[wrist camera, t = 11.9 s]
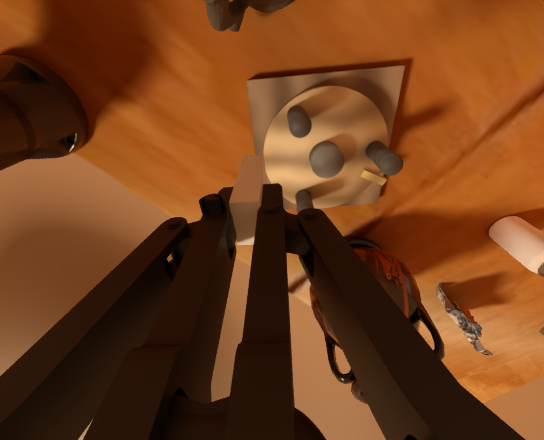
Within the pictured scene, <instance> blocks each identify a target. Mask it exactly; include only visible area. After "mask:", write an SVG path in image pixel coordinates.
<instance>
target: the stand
mask: <svg viewBox="0 0 544 440" xmlns="http://www.w3.org/2000/svg"><path fill="white" fill-rule="evenodd" d="M404 69H405V65H395V66H385V67H374V68H364V69H354V70H343V71H333V72H322V73H312V74H301V75H291V76H280V77H270V78H259V79H249V80H247V88H248V96H249V104H250V112H251V120H252V128H253V136H254V145H255V153H256V156H260V155H263V154H264V143H265V137H266V134H267V131H268V128H269V126H270V124H271V122H272V120H273V118H274V117H275V115H276V114H277V112H278V111H279V110H280V109H281V108H282V107H283V106H284V105H285V104H286V103H287V102H288V101H289V100H290V99H292V98H293V97H294V96H296V95H298V94H300V93H301V92H303V91H306V90H308V89H311V88H315V87H319V86H327V85H334V86H342V87H346V88H349V89H352V90H354V91H357V92H359V93H361V94H362V95H364V96H366V97H367V98H368V99H369V100H371V101H372V102H373V103H374V104H375V105H376V107H377V108H378V109H379V111H380V112H381V114H382V116H383V118H384V121H385V123H386V127H387V132H388V148H389V145H390V140H391V135H392V129H393V124H394V119H395V114H396V109H397V104H398V99H399V94H400V89H401V84H402V79H403V74H404ZM378 175H380V176H383V175H384V173H383V172H382V171H381V170H380V172H379V173H378ZM266 178H267V184H271V182H270V180H269V178H268V176H267V173H266ZM380 190H381V185H380V184H378V183H375V182H372V183H371V184H370V185H369V186H368V187H367V188H366V189H365V190H364V191H363V192H362V193H361V194H359V195H358V196H356V197H355V198H353V199H352V200H350V201H348V202H346V203H343V204H341V205H337V206H345V205H361V204H376V203H378V201H379V196H380ZM283 206H284V209H297V205H296V204H294V203H292V202H290V201H289V200H287V199H285V198H284V197H283Z"/></svg>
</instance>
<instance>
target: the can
mask: <svg viewBox="0 0 544 440" xmlns="http://www.w3.org/2000/svg"><path fill="white" fill-rule="evenodd" d="M489 236H490V237H491V238H492V239H493V240H494V241H495V242H496V243H498V244H499V245H500V246H501V247H502V248H504V249H505V250H506V251H507V252H508V253H509V254H511V255H512V256H513V257H514V258H515V259H517V260H518V261H519V262H520V263H521V264H523V265H524V266H525V267H526V268H528V269H529V270H530V271H532V272H535V273H538V274H539V275H540V276H542V277H544V233H543V232H541V231H540V230H538V229H537V228H535V227H534V226H532V225H531V224H529V223H528V222H526V221H525V220H523V219H521V218H520V217H517V216H507V217H504V218H501V219H499V220H497V221H496V222H495V223H494V224H492V226H491V227H490V229H489Z"/></svg>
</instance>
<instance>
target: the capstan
mask: <svg viewBox="0 0 544 440" xmlns="http://www.w3.org/2000/svg"><path fill="white" fill-rule="evenodd" d="M263 155H264V159H265V169H266V173H267V176H268V178H269V180H270V182H271V184H273V183H279V184H280V185H281V186H282V191H283V197H284V198H285V199H287V200H289V201H290V202H292V203H294V204H296V205H297V212H298V213H299V212H300V211H301V210H303V209H306V208H318V209H319V208H329V207H334V206H337V205H341V204H343V203H346V202H348V201H350V200H352V199H353V198H355V197H356V196H358V195H359V194H361V193H362V192H363V191H364V190H365V189H366V188H367V187H368V186H369V185H370V184H371V183H372V182H375V183H378V184H380V185H383V184H384V183H385V182H386V180H387V179H386V178H385V177H383V176H380V175H378V173H379V172H380V170H381V171H382V172H383V173H384V174H385V175H388V176H391V175H395V174H397V173H398V172H399V171H400V170H401V169H402V167H403V160H402V158H400V157H399V156H398V155H397V154H395V153H394V152H393V151H392V150H390V149H389V148H388V132H387V127H386V123H385V121H384V118H383V116H382V114H381V112H380V111H379V109H378V108H377V107H376V105H375V104H374V103H373V102H372V101H371V100H369V99H368V98H367V97H366V96H364V95H362V94H361V93H359V92H357V91H354V90H352V89H349V88H346V87H342V86H334V85H327V86H319V87H315V88H311V89H308V90H306V91H303V92H301V93H300V94H298V95H296V96H294V97H293V98H292V99H290V100H289V101H288V102H287V103H286V104H285V105H284V106H283V107H282V108H281V109H280V110H279V111H278V112H277V114H276V115H275V117H274V118H273V120H272V122H271V124H270V126H269V128H268V131H267V134H266V137H265V143H264V154H263Z"/></svg>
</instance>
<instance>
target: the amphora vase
mask: <svg viewBox="0 0 544 440" xmlns="http://www.w3.org/2000/svg"><path fill="white" fill-rule="evenodd" d="M345 240H346V241H347V242H348V243H349V245H350V246H351V247H352V249H353V250H354V251H355V252H356V254H357V255H358V256H359V257H360V259H361V260H362V261H363V262H364V264H365V265H366V266H367V268H368V269H369V270H370V271H371V273H372V274H373V275H374V276H375V278H376V279H377V280H378V281H379V283H380V284H381V285H382V287H383V288H384V289H385V290H386V292H387V293H388V294H389V295H390V297H391V298H392V299H393V300H394V302H395V303H396V304H397V306H398V307H399V308H400V309H401V311H402V312H403V313H404V314H405V316H406V317H407V318H408V319H409V321H410V322H411V323H412V325H413V326H414V327H415V328H416V330H417V331H419V327H420V320H421V321H422V322H423V323H424V324H425V325H426V327H427V328H428V330H429V331H430V333H431V335H432V338H433V340H434V345H435V349H434V350H433V351H434V352H435V354H436V355H437V356H438V357H439V359H440V360H442V359H443V358H444V343H443V341H442V339H441V337H440V334H439V332H438V330H437V329H436V327H435V325H434V323H433V322H432V320H431V318H430V316H429V315H428V313H427V311H426V309H425V308H424V306H423V305H422V303H421V298H420V292H419V289H418V286H417V284H416V281H415V279H414V278H413V276H412V275H411V273H410V272H409V270H408V269H407V268H406V266H405V265H404V263H402V262H401V261H400V260H398V259H397V258H395V257H394V256H392V255H391V254H389V253H387V252H384V251H383V250H382V249H381V247H380V246H379V245H378V244H376V243H375V242H373V241H371V240H368V239H365V238H347V239H345ZM310 298H311V307H312V309H313V313H314V315H315V318H316V320H317V321H318V323H319V325H320V327H321V328H322V330H323V332H324V336H325V342H326V347H327V354H328V360H329V364H330V367H331V370H332V373H333V374H334V375H335V376H336V378H337V380H338V381H339V382H342V383H344V384H349V383H352V382H353V383H352V387H351V392H352V394H353V395H354V397H355V398H356V399H358V400H360V401H361V402H363V403H365V404H368V403H367V401H366V399H365V397H364V395H363V392H362V390H361V388H360V386H359V384H358V382H357V380H356V378H355V376H354V373H353V371H352V369H351V370H350V372H349V373H347V374H342V373H341V372H340V370H339V367H338V365H337V362H336V357H335V345H337V346H338V347H339V348H340V349H342V348H341V346H340V344H339V342H338V340H337V338H336V335H335V333H334V331H333V329H332V327H331V325H330V323H329V321H328V319H327V316H326V314H325V312H324V310H323V308H322V306H321V304H320V302H319V300H318V297H317V295H316V293H315V291H314V289H313V287H312V285H311V286H310Z"/></svg>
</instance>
